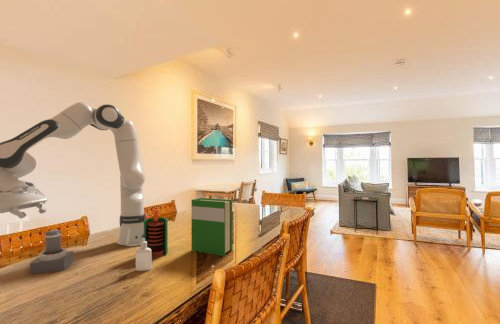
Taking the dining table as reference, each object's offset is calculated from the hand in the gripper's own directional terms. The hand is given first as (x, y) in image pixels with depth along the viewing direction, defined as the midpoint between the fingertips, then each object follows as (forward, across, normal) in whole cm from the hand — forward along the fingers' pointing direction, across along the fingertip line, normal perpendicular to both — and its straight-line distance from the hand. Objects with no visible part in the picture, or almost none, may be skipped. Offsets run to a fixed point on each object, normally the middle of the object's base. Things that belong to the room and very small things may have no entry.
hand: (34, 214), depth 106 cm
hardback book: (+63, +21, -33) cm, 74 cm away
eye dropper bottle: (+47, -2, -17) cm, 50 cm away
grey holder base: (+20, 0, +9) cm, 22 cm away
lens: (+18, 0, +6) cm, 19 cm away
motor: (+46, +16, -16) cm, 51 cm away
